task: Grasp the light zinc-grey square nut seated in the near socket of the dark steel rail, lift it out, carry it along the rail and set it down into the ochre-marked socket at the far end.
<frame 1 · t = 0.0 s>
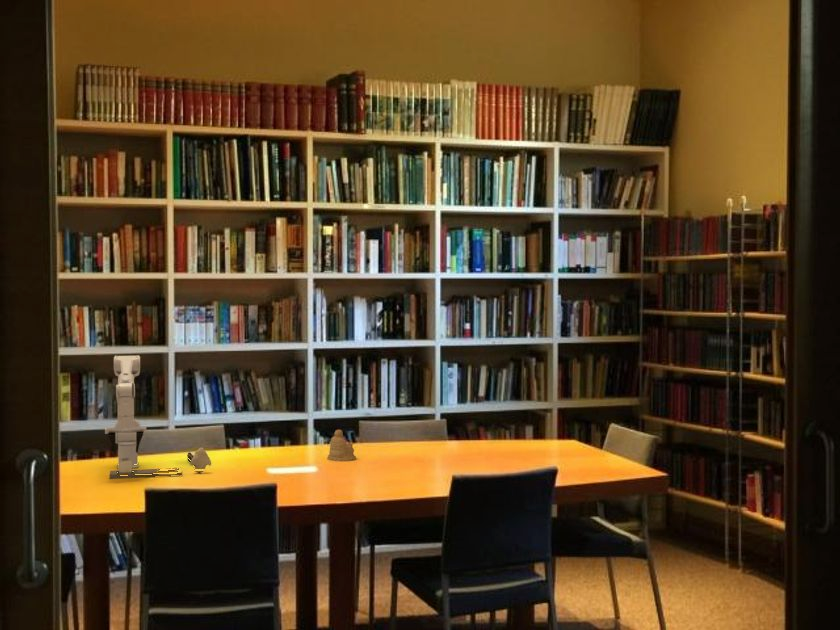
hand: (126, 452, 389), 10 cm above the table, tool pointing down, fingers open, 7 cm apart
bus: (193, 466, 422), on the table
statue: (341, 459, 436), on the table
rail: (146, 475, 399), on the table
arrowhead: (200, 473, 404), on the table
nut: (125, 474, 397), point 1 cm above the table, touching rail
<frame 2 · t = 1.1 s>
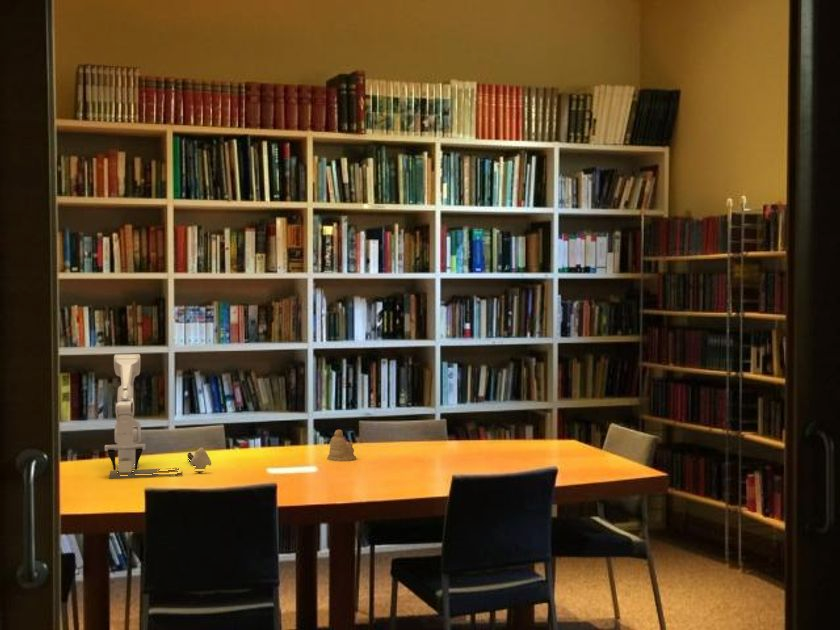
hand: (125, 469, 397), 3 cm above the table, tool pointing down, fingers open, 7 cm apart
nothing on the table moved.
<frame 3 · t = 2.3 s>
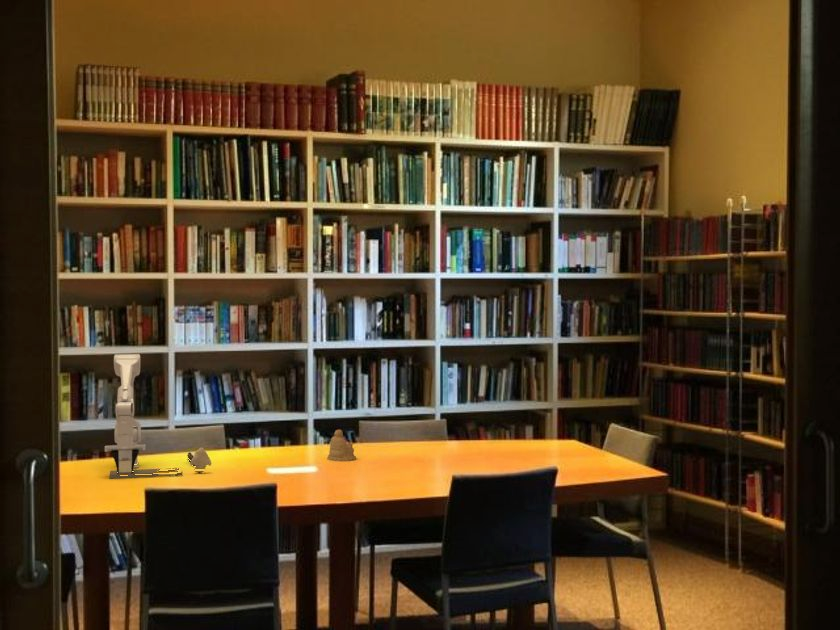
hand: (125, 470, 397), 2 cm above the table, tool pointing down, fingers closed on nut, 4 cm apart
nut: (125, 474, 397), point 1 cm above the table, touching gripper, rail
everything else where it was.
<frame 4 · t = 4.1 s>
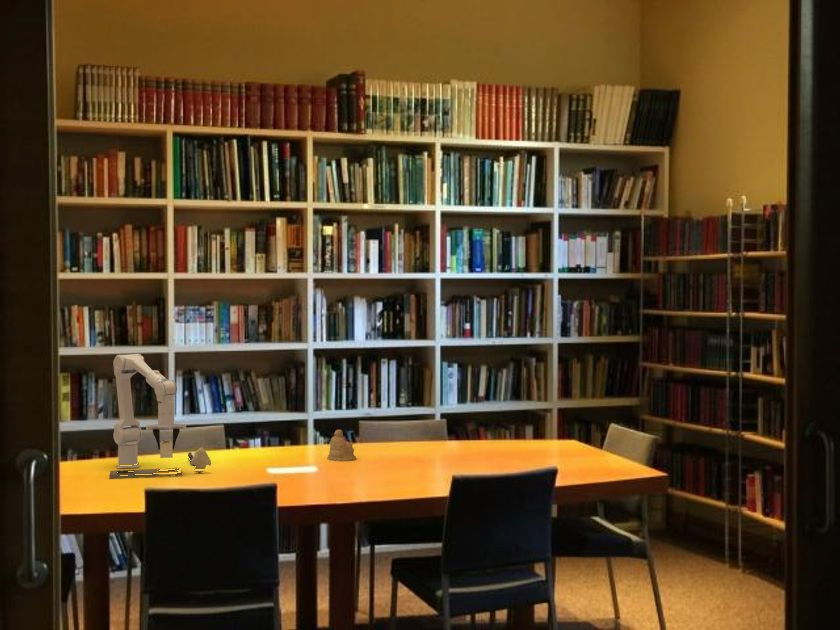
hand: (166, 449, 400), 10 cm above the table, tool pointing down, fingers closed on nut, 4 cm apart
nut: (166, 456, 400), point 7 cm above the table, touching gripper
everything else where it was.
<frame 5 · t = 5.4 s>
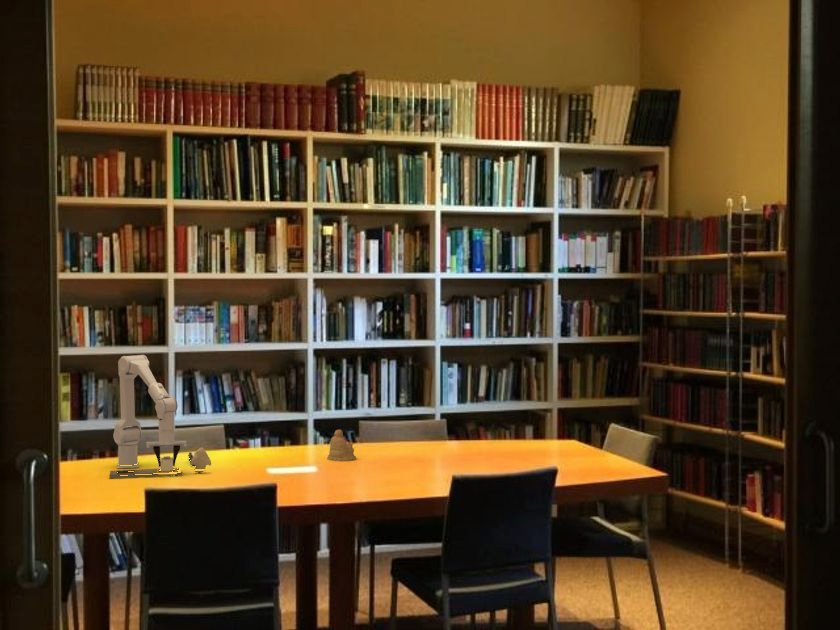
hand: (166, 466, 401), 3 cm above the table, tool pointing down, fingers closed on nut, 4 cm apart
nut: (166, 473, 401), point 1 cm above the table, touching gripper, rail
everything else where it was.
when the fingers open (3 cm above the table, at t = 6.2 s): nut stays where it is, resting on rail.
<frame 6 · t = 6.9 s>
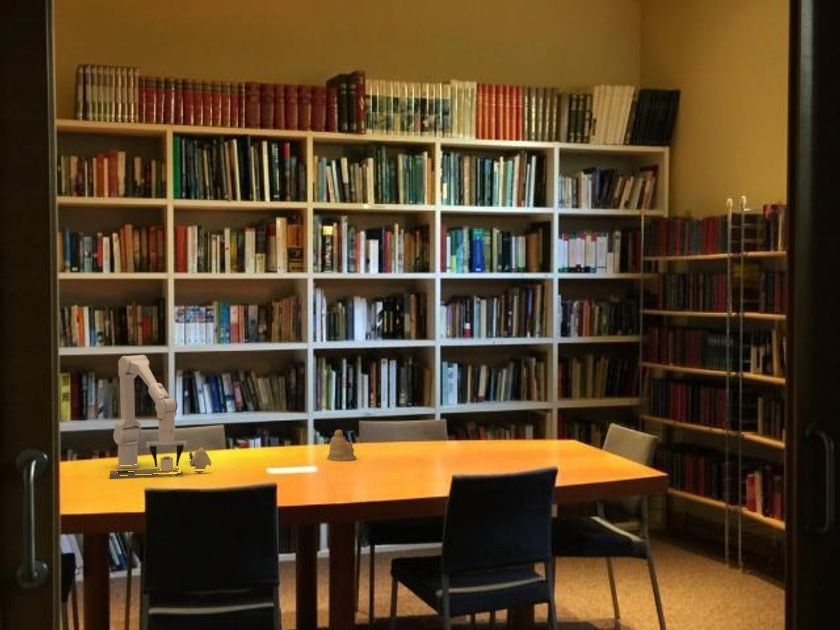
hand: (166, 466, 401), 3 cm above the table, tool pointing down, fingers open, 7 cm apart
nut: (166, 473, 401), point 1 cm above the table, touching rail
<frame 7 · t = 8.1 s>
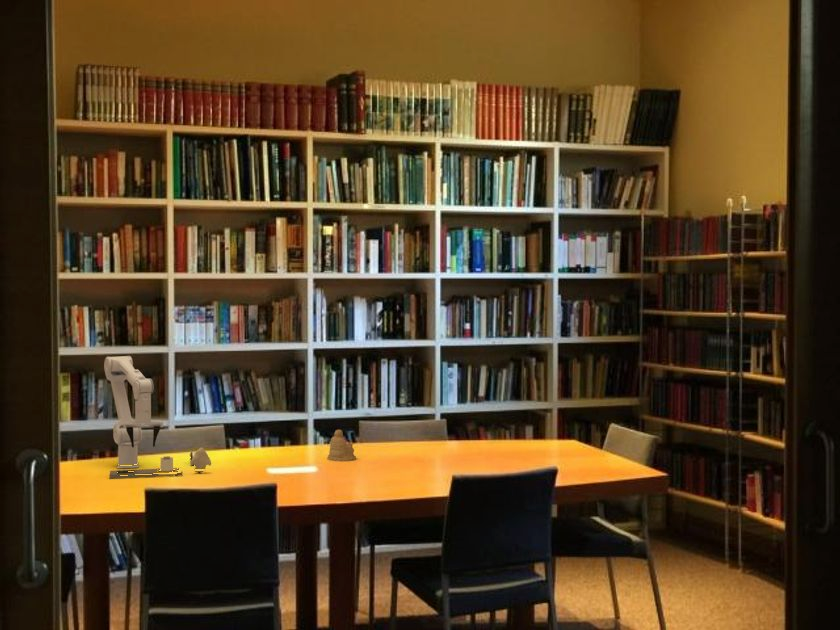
hand: (143, 446, 404), 10 cm above the table, tool pointing down, fingers open, 7 cm apart
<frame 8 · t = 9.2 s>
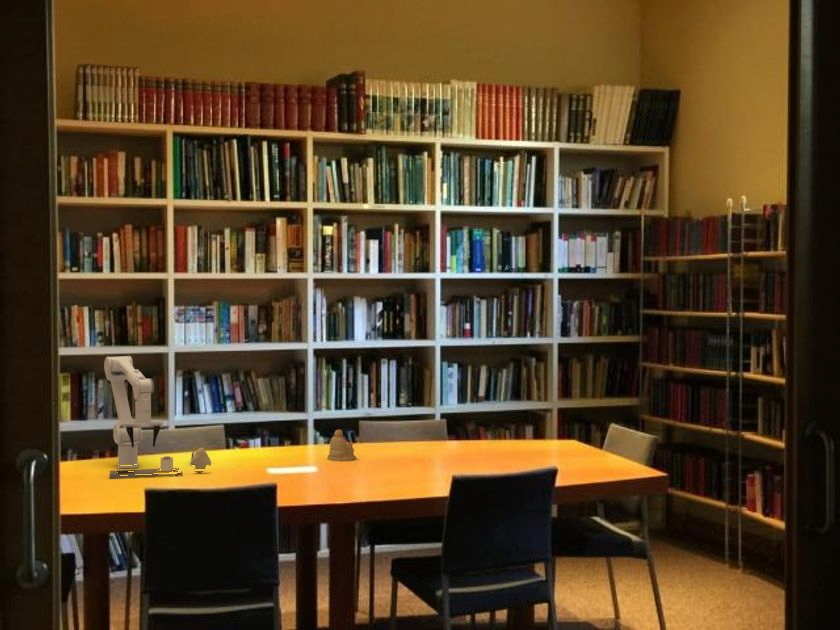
hand: (143, 446, 404), 10 cm above the table, tool pointing down, fingers open, 7 cm apart
at the end: nut 0.2 cm from the target spot on the rail, point 0.6 cm above the rail's base; nut tilted 0°; the gripper is holding nothing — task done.
